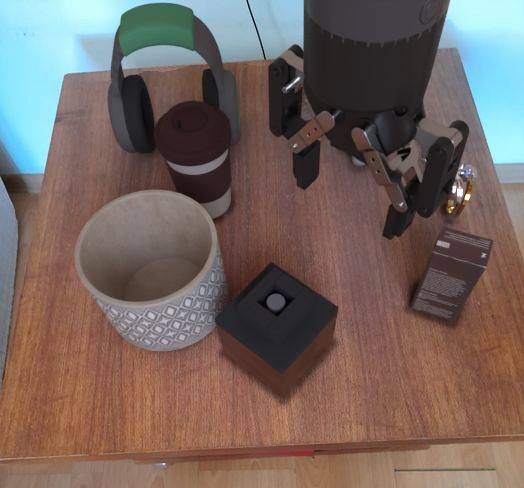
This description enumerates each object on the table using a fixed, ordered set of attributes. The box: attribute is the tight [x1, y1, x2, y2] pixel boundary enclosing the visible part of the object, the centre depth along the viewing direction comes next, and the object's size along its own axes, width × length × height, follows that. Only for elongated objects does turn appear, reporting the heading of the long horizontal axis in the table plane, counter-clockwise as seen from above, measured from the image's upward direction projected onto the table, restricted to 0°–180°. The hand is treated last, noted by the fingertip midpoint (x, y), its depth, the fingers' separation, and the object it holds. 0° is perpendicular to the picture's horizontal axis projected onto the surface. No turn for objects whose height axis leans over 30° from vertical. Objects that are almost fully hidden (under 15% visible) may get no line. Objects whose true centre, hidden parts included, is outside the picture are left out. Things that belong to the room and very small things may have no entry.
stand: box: [216, 312, 339, 399], centre depth 59 cm, size 10×10×8 cm
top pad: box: [237, 267, 314, 346], centre depth 53 cm, size 6×6×3 cm
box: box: [409, 225, 494, 323], centre depth 59 cm, size 6×4×12 cm
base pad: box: [215, 261, 339, 374], centre depth 54 cm, size 10×10×4 cm
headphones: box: [107, 2, 242, 155], centre depth 71 cm, size 19×11×20 cm, turn 93°
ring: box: [445, 159, 479, 219], centre depth 68 cm, size 7×3×8 cm, turn 168°
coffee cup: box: [154, 100, 232, 220], centre depth 67 cm, size 10×10×15 cm
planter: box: [73, 189, 229, 352], centre depth 61 cm, size 16×16×13 cm
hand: (348, 206), depth 40 cm, fingers open, 8 cm apart
